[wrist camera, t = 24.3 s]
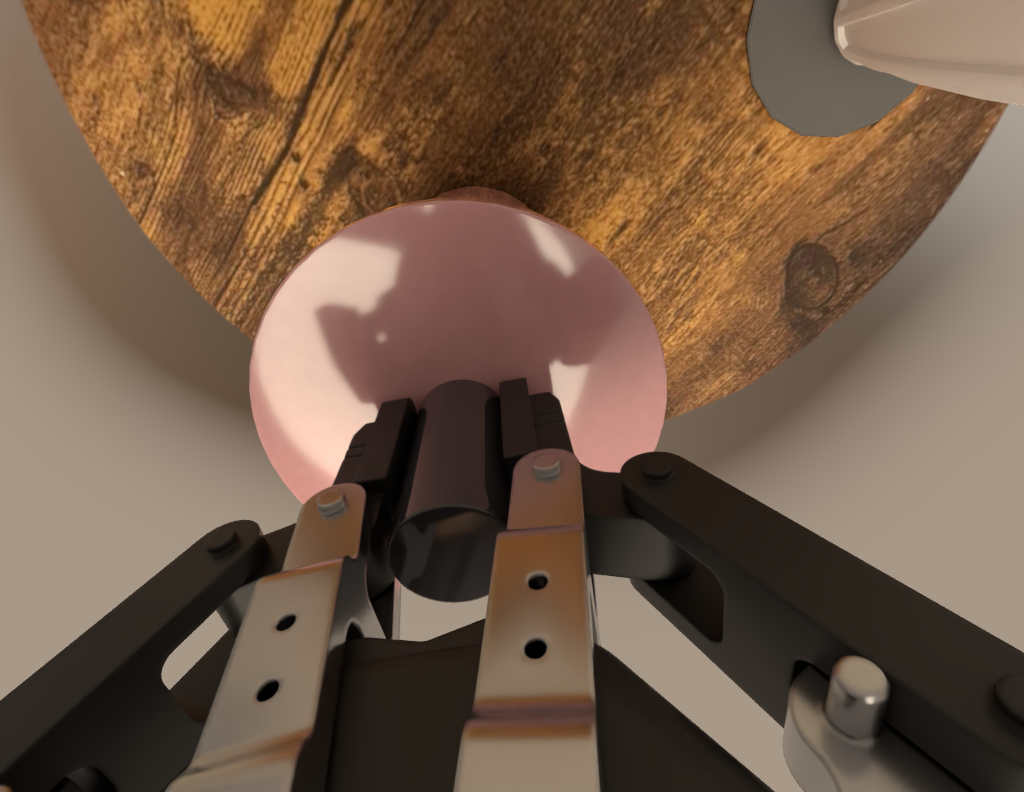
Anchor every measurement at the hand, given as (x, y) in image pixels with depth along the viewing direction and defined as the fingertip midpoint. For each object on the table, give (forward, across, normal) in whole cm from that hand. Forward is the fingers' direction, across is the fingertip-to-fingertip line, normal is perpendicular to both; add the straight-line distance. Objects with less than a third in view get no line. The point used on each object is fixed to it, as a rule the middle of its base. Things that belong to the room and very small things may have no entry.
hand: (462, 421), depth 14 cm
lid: (+1, 0, 0) cm, 1 cm away
